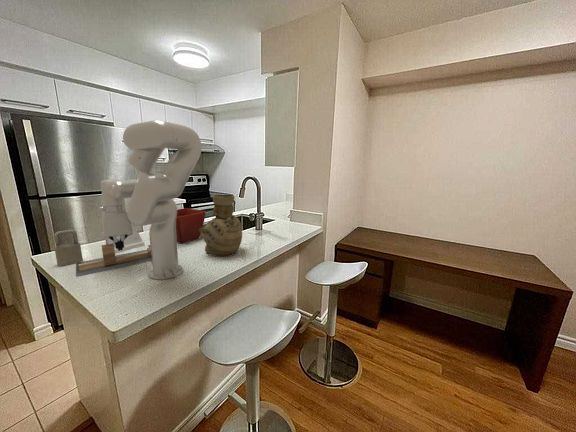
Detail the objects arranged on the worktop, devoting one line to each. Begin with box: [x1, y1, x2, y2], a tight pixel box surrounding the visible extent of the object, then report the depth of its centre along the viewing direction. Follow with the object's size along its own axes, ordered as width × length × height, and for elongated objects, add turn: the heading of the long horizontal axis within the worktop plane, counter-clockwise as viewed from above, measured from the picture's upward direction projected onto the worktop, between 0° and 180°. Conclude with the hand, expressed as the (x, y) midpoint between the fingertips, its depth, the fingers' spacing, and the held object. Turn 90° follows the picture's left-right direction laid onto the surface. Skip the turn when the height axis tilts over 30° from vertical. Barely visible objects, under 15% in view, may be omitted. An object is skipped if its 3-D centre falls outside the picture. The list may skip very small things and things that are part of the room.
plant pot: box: [176, 207, 206, 244], centre depth 142 cm, size 19×19×17 cm
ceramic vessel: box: [199, 194, 243, 258], centre depth 120 cm, size 19×21×30 cm
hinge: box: [104, 230, 146, 255], centre depth 126 cm, size 17×5×10 cm, turn 151°
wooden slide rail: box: [75, 249, 152, 277], centre depth 109 cm, size 14×32×1 cm, turn 131°
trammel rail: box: [79, 244, 151, 271], centre depth 108 cm, size 9×30×3 cm, turn 131°
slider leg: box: [100, 243, 116, 266], centre depth 105 cm, size 9×4×8 cm, turn 41°
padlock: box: [53, 229, 84, 267], centre depth 105 cm, size 4×8×15 cm, turn 144°
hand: (120, 249), depth 106 cm, fingers closed
